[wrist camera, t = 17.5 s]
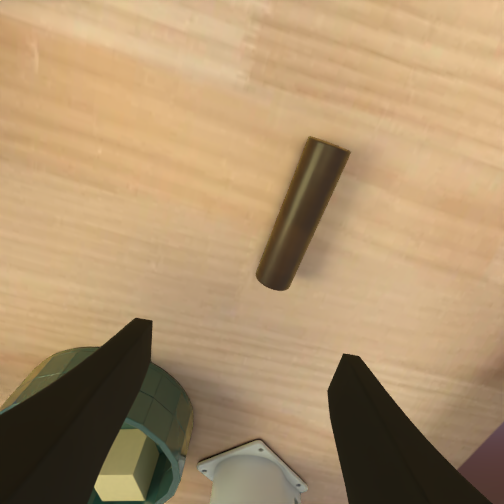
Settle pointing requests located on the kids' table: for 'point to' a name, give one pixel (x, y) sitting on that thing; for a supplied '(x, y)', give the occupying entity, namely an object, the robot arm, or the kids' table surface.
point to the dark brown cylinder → (301, 212)
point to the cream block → (128, 467)
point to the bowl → (132, 418)
